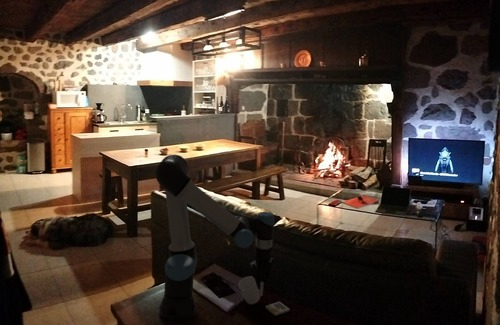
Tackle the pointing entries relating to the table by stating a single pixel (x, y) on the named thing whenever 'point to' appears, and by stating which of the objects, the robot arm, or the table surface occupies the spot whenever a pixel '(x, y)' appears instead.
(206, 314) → the table surface
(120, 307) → the table surface
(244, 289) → the white cup
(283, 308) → the placard
